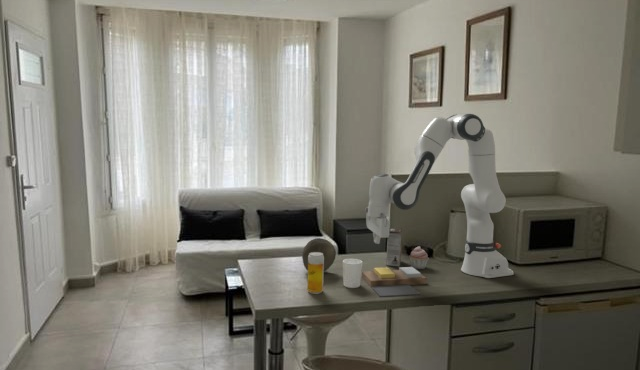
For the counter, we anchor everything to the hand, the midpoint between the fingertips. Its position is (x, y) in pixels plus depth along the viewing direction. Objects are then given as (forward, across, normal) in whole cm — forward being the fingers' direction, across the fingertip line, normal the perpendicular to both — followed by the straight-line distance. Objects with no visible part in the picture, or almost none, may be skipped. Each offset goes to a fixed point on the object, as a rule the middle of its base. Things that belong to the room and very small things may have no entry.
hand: (376, 243), depth 206 cm
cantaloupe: (+14, +4, +24) cm, 29 cm away
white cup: (+14, -14, +14) cm, 24 cm away
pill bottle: (+14, -18, +30) cm, 38 cm away
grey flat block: (+11, -10, -12) cm, 19 cm away
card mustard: (+11, -10, -1) cm, 15 cm away
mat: (+14, -22, -1) cm, 26 cm away
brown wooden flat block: (+13, -10, -5) cm, 18 cm away
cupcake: (+13, +6, -23) cm, 27 cm away
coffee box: (+14, +14, -14) cm, 23 cm away
